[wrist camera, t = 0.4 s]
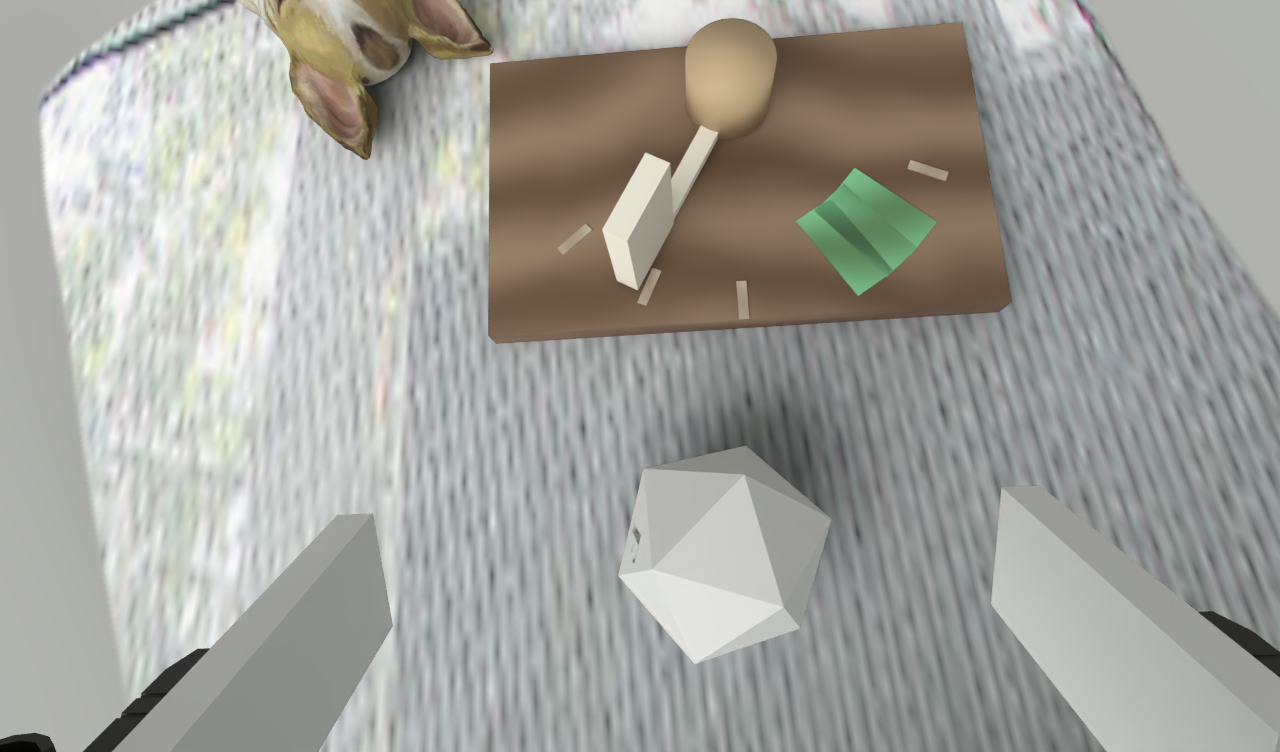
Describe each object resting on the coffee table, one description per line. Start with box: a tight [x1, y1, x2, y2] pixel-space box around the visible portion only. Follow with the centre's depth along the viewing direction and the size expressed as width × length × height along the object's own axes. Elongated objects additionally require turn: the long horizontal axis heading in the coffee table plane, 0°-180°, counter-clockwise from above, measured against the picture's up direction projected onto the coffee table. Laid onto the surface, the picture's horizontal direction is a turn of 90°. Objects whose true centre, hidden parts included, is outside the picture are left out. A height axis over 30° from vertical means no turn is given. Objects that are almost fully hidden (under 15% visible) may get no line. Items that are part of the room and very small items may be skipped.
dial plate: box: [488, 22, 1012, 344], centre depth 37 cm, size 16×26×2 cm, turn 93°
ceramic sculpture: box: [238, 0, 493, 160], centre depth 38 cm, size 11×9×15 cm
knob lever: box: [602, 18, 777, 290], centre depth 34 cm, size 14×4×6 cm, turn 152°
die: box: [618, 446, 832, 664], centre depth 30 cm, size 8×9×10 cm
